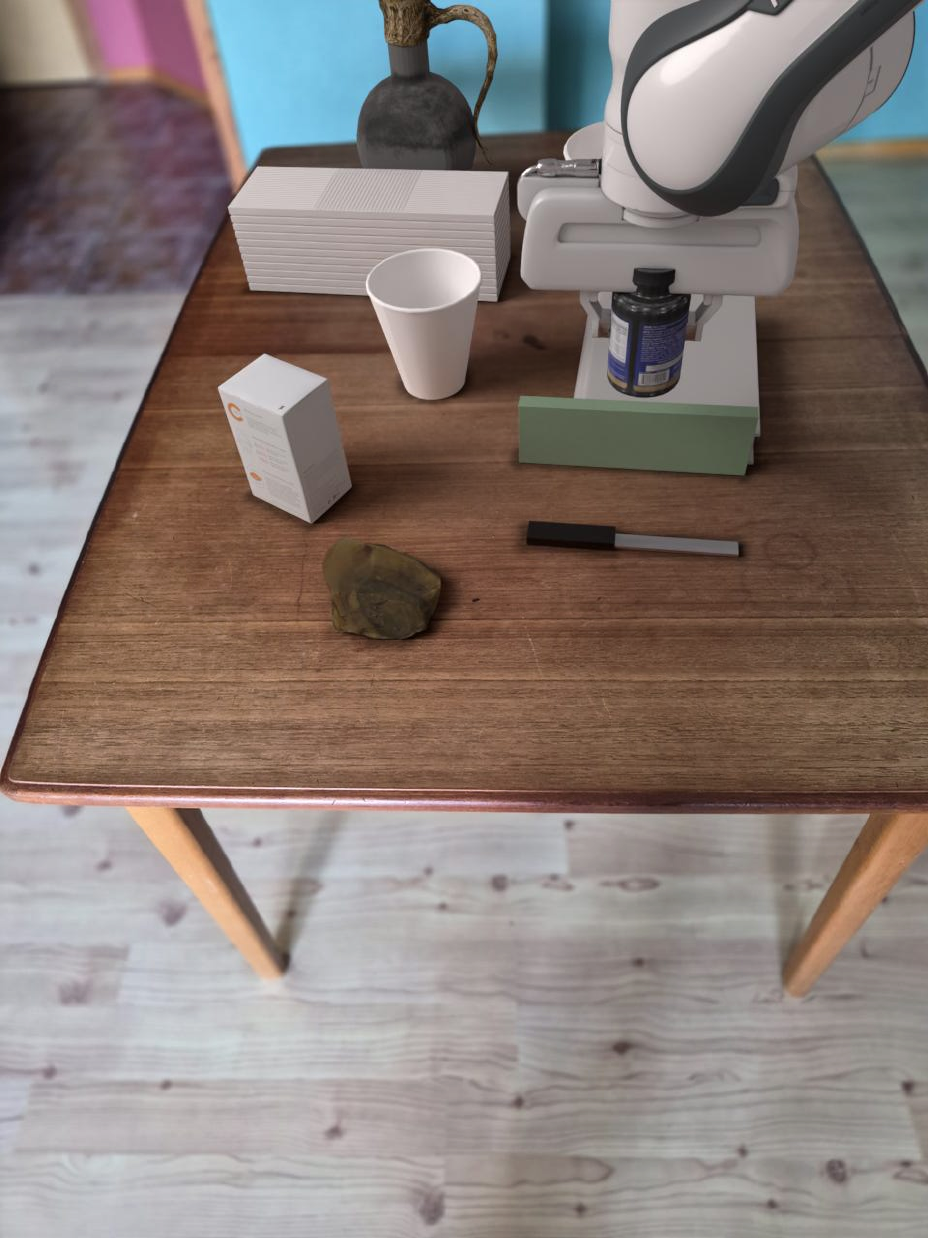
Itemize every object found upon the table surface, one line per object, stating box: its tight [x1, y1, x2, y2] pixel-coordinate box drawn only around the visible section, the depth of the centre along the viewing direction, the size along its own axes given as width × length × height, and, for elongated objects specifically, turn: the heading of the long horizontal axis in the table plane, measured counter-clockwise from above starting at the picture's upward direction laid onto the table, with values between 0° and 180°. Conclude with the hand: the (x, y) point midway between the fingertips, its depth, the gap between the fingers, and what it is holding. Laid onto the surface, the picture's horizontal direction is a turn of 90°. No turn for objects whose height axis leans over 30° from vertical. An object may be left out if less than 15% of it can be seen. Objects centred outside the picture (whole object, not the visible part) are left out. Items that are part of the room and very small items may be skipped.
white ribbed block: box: [227, 165, 512, 302], centre depth 110 cm, size 32×11×11 cm, turn 79°
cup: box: [366, 248, 483, 401], centre depth 94 cm, size 12×12×12 cm
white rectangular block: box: [573, 291, 761, 466], centre depth 94 cm, size 18×4×24 cm
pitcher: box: [356, 0, 499, 171], centre depth 112 cm, size 11×19×30 cm, turn 76°
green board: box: [517, 395, 759, 476], centre depth 85 cm, size 22×2×7 cm, turn 81°
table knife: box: [525, 520, 740, 558], centre depth 81 cm, size 19×2×1 cm, turn 81°
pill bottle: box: [607, 268, 691, 398], centre depth 71 cm, size 6×6×11 cm
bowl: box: [563, 120, 604, 160], centre depth 117 cm, size 19×19×8 cm
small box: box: [217, 353, 353, 525], centre depth 83 cm, size 8×6×13 cm
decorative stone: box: [321, 536, 442, 640], centre depth 77 cm, size 10×9×4 cm
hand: (646, 335), depth 72 cm, fingers closed on pill bottle, 6 cm apart
